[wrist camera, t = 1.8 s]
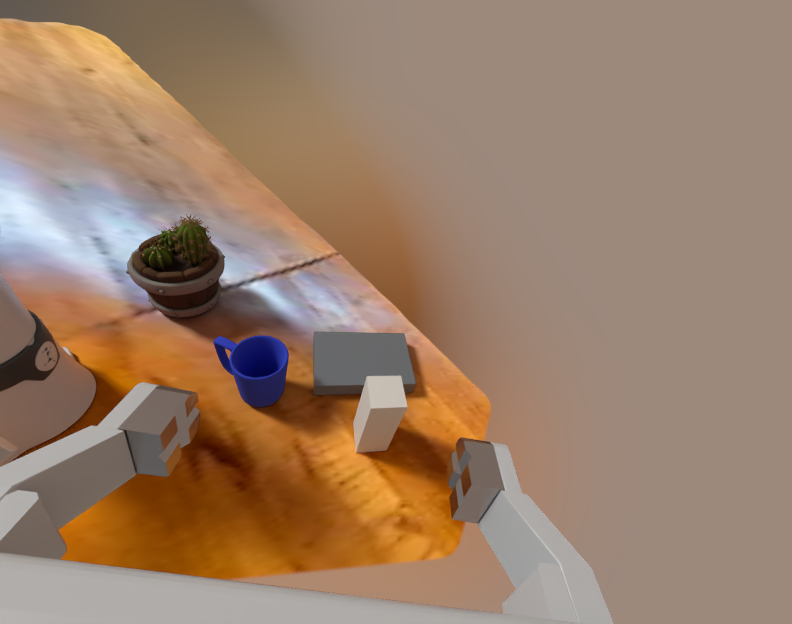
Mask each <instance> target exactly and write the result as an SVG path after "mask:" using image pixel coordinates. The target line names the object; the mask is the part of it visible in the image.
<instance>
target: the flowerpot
mask: <svg viewBox="0 0 792 624" xmlns="http://www.w3.org/2000/svg"><path fill="white" fill-rule="evenodd" d="M186 215H187V214H186ZM180 217H181V216H180ZM194 217H195V216H194ZM194 217H193V218H194ZM182 218H183V217H181V219H182ZM187 218H188V219H189V220H187V219H186V222H184V221H185V218H184V220H181V221H182V222H180V220H179V222H180V223H182V224H181V225H180V226H179V227H178V226H176V225H174V226H175V227H176V228H175V227H173V226H172V229H173V228H174V231H173V230H172V229H171V230H172V231H171V230H170V229H168V230H167V229H166V228H165V229H166V230H167V231H165V230H164V231H162V230H161V231H162V234H160V235H157V236H154V237H152V238H150V239H148V240H146V241H144V242H143V243H142V244H140V246H139V248H138V249H137V250H135V251H134V252H133V253H132V255H131V257H130V259H129V261H128V263H127V268H128V270H127V271H126V273H127V274H129V275H130V277H131V278H132V279H133V281H134V282H135V283H136V284H137V285H138V286H140V287H141V288H143V289H145V290H146V291H147V292H148V298H149V301H150V302H151V303H152V304H153V306H154V307H155V308H156V309H157V310H159V311H160V312H162V313H164V314H166V315H169V316H172V317H178V318H191V317H193V316H195V317H196V316H199V315H201V314H203V313H205V312H207V311H208V310H209V309H211V308H212V307H213V306H214V305H215V304H216V302H217V301H218V299H219V296H220V291H221V285H220V283H219V278H220V276H221V275H222V273H223V270H224V258H225V256H224V255H223V254H222V253H221V251H220V250H219V249H218V248H217V247H216V246H215V245H213V244H212V243H211V241H210V240H211V239H210V238H211V237H209V236H208V237H207V235H206V229H207V228H208V227H207V228H205V227H203V226H200V224H202V223H203V222H202V220H200V221H201V222H202V223H199V222H200V221H198V220H199V219H198V220H194V219H193V218H192V219H193V222H192V219H191V215H190V217H188V216H187ZM195 219H196V218H195ZM187 221H188V222H187ZM177 227H178V228H177ZM163 228H164V227H163ZM159 230H160V229H159ZM207 230H208V229H207ZM207 232H209V231H207ZM209 233H210V232H209ZM209 239H210V240H209ZM212 240H213V239H212Z"/></svg>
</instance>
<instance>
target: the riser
mask: <svg viewBox="0 0 792 624" xmlns="http://www.w3.org/2000/svg"><path fill="white" fill-rule="evenodd" d="M313 375H314V395H343V394H362V391H363V388H364V384H365V381H366V377H367V376H401V378H402V383H403V388H404V393H412V391H413V389H414V387H415V385H416V381H415V377H414V373H413V369H412V365H411V360H410V356H409V352H408V348H407V343H406V339H405V335H404V333H356V332H314V341H313Z"/></svg>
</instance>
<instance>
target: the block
mask: <svg viewBox="0 0 792 624" xmlns="http://www.w3.org/2000/svg"><path fill="white" fill-rule="evenodd" d="M406 409H407V402H406V398H405V393H404V388H403V383H402V378H401V376H367V377H366V381H365V384H364V388H363V391H362V395H361V398H360V402H359V405H358V409H357V412H356V416H355V419H354V423H353V425H354V437H355V449H356V453H359V452H373V451H386V450H387V448H388V446H389V444H390V442H391V440H392V438H393V436H394V434H395V432H396V430H397V428H398V426H399V423H400V421H401V419H402V417H403V415H404V413H405V411H406Z"/></svg>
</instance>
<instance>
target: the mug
mask: <svg viewBox="0 0 792 624" xmlns="http://www.w3.org/2000/svg"><path fill="white" fill-rule="evenodd" d="M214 346H215V349H216V352H217V355H218V357H219V359H220V362H221V363H222V365H223V367H224V368H225V369H226V370H227V371H228V372H229V373H230V374H232V375H234V378H235V381H236V384H237V387H238V389H239V392H240V395H241V397H242V399H243V400H244V401H245V402H246V403H247V404H249V405H251V406H254V407H266V406H269V405H271V404H273V403H275V402H276V401H277V400H278V399H279V398H280V397H281V395H282V393H283V391H284V386H285V379H286V372H287V365H288V357H289V355H288V350H287V348H286V346H285V345H284V344H283V343H282V342H281V341H280V340H278V339H276V338H273V337H270V336H253V337H250V338H247V339H245V340H243V341H241V342H240V343H238V344H236V343H234V342H233V341H231V340H229V339H227V338H224V337H221V336H219V337H217V338H216V339H215V340H214ZM225 348H226V349H228V350H230V351H231V354H230V361H229V359H228V356H227V354H226V351H225Z"/></svg>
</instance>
